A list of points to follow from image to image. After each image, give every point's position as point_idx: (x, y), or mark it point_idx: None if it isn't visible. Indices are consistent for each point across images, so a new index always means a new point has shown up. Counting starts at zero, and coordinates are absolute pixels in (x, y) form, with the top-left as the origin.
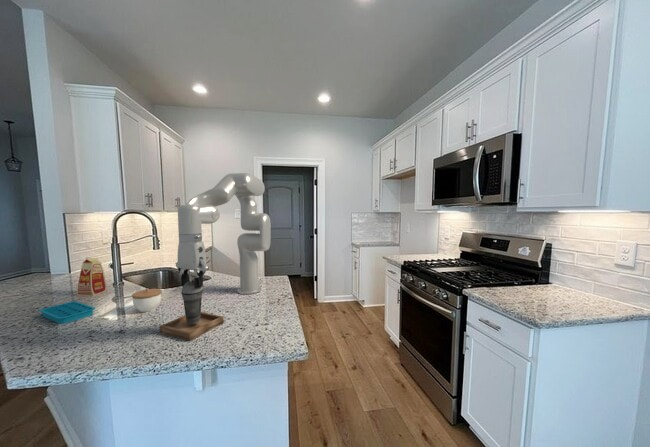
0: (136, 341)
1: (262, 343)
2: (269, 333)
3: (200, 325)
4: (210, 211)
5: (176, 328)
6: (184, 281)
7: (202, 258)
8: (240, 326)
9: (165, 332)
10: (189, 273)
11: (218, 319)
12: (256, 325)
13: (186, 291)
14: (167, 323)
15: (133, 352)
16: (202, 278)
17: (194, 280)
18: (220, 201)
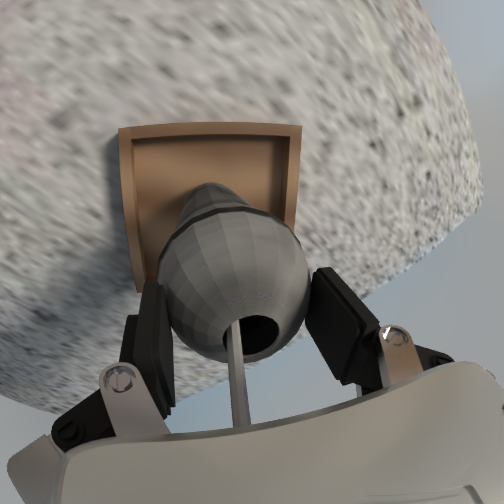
0: None
1: (440, 201)
2: (439, 154)
3: (243, 197)
4: None
5: None
6: (170, 354)
7: (499, 473)
8: (364, 133)
9: None
10: (248, 412)
11: (299, 153)
12: (400, 116)
13: (256, 343)
14: (138, 269)
15: (193, 353)
16: (363, 307)
17: (334, 369)
18: None
